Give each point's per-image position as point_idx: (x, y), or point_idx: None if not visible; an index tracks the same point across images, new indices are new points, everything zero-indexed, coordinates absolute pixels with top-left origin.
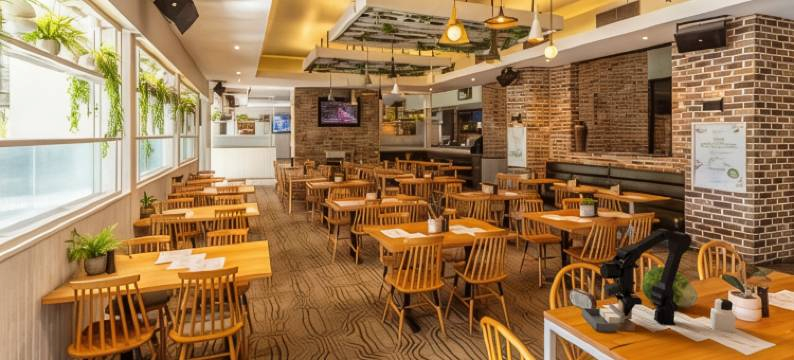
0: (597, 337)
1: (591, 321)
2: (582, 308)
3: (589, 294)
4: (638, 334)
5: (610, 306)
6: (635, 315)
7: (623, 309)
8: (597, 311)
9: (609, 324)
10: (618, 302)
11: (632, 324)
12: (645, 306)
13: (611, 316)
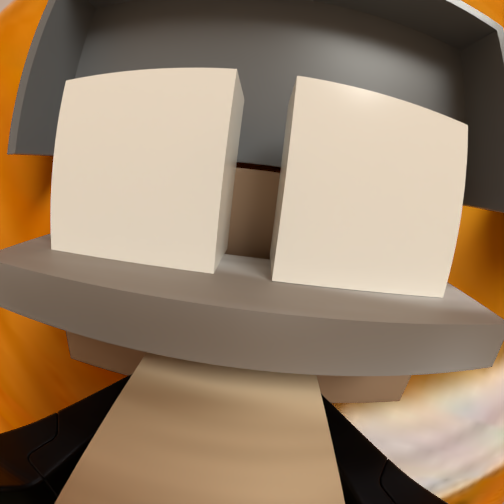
0: (31, 12)
1: None
2: (496, 23)
3: None
4: None
5: (463, 312)
6: (396, 458)
7: (119, 414)
8: (489, 170)
9: (25, 78)
10: (381, 485)
11: (82, 345)
12: (452, 492)
13: (77, 123)
